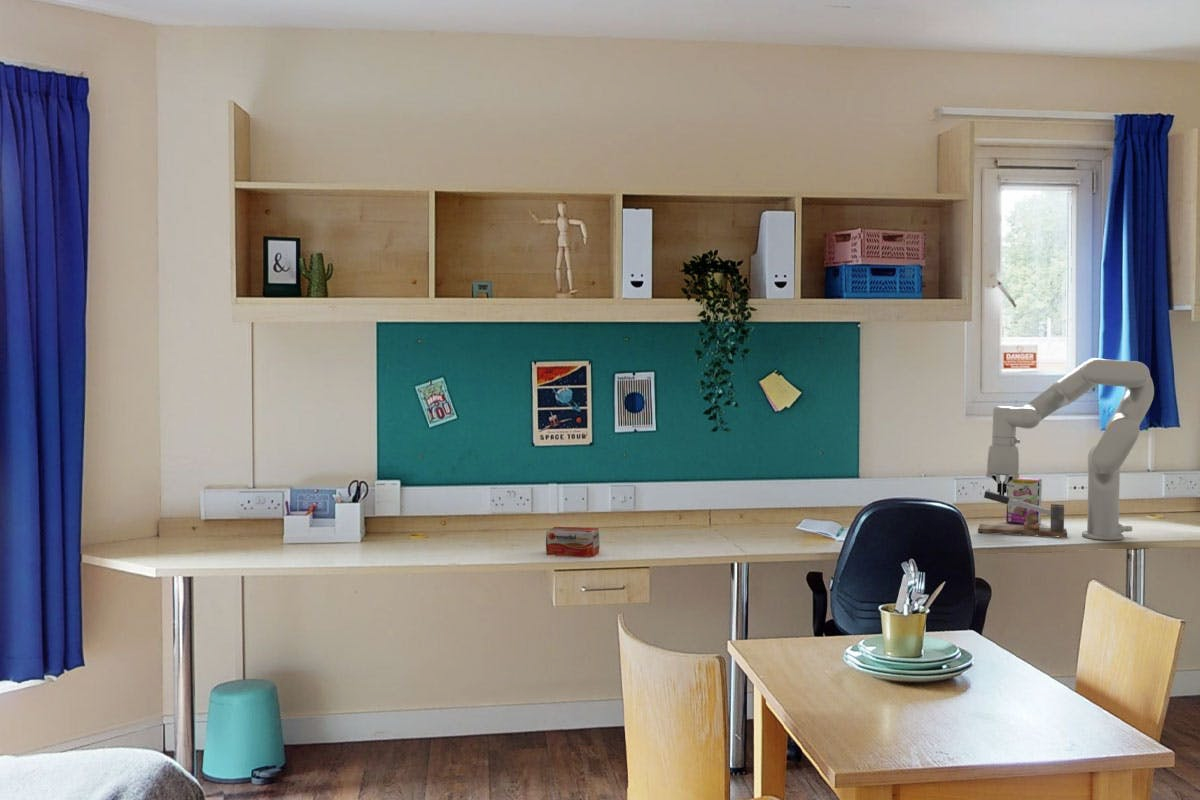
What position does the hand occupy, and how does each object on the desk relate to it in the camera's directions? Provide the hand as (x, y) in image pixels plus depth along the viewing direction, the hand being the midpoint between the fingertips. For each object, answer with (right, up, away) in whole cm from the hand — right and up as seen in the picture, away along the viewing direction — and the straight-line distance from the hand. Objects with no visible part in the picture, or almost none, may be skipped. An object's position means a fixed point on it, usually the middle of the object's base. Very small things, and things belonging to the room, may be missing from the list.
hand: (1001, 494), depth 372 cm
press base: (+6, -13, -2) cm, 15 cm away
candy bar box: (+15, -12, +18) cm, 27 cm away
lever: (+6, -4, -2) cm, 8 cm away
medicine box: (-147, -16, -37) cm, 152 cm away
